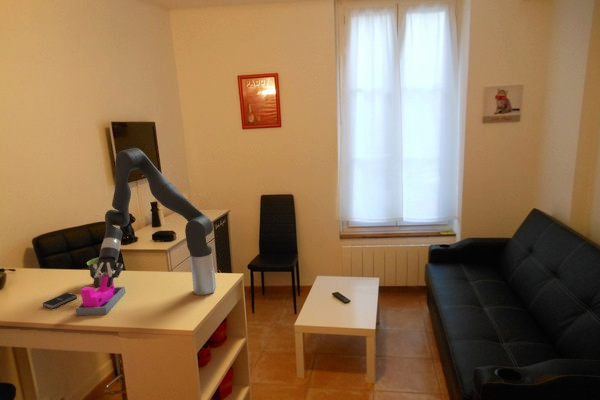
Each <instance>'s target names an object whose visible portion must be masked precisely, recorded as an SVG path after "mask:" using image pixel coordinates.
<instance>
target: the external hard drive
mask: <svg viewBox="0 0 600 400" xmlns="http://www.w3.org/2000/svg"><path fill="white" fill-rule="evenodd" d="M75 300H77V294H75V293H70V292H64V293H62V294H60V295H58V296H56V297H53V298H51V299H49V300H46V301H44V302H42V307H43V308H47V309H51V310H56V309H57V308H60V307H62V306H65V305H66V304H68V303H71V302H72V301H75Z"/></svg>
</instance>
